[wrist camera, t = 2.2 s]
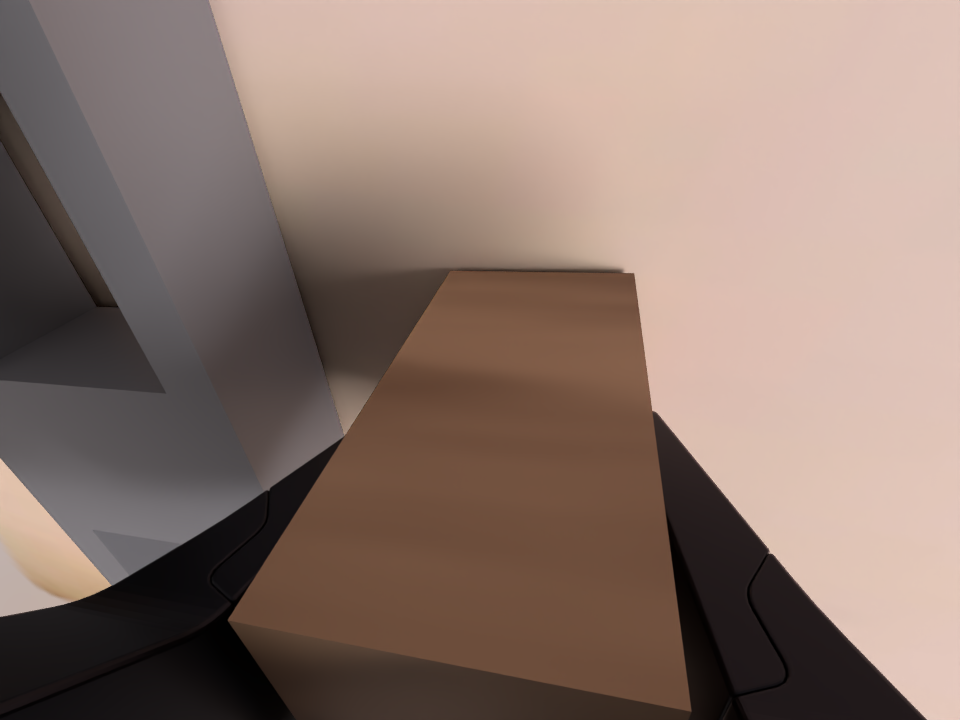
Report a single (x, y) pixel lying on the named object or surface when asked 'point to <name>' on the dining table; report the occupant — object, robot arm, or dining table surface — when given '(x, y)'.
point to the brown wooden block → (486, 525)
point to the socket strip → (145, 285)
